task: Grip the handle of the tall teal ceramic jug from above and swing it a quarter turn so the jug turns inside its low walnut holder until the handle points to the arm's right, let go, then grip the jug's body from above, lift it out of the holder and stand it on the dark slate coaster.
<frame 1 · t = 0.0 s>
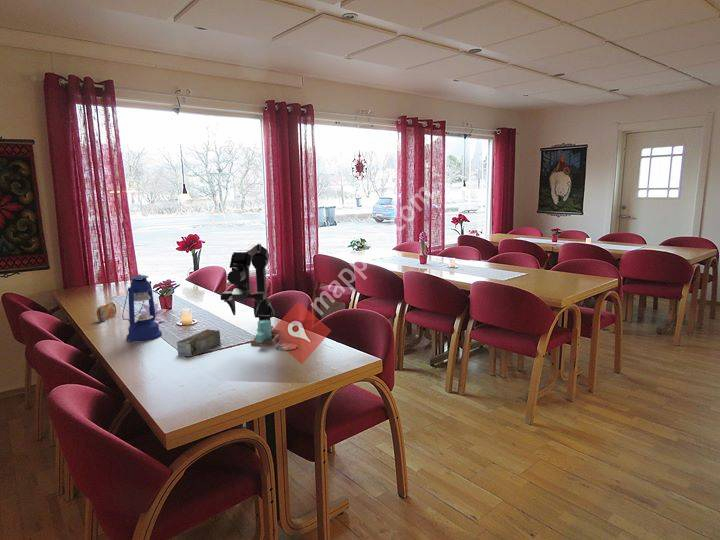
hand: (244, 315, 199), 15 cm above the table, tool pointing down, fingers open, 9 cm apart
holder: (265, 341, 209), on the table
jug: (262, 333, 206), in the holder
grey brown rectangular block: (200, 349, 201), on the table
lantern: (144, 337, 219), on the table
tin: (107, 319, 251), on the table
water lily: (154, 323, 242), on the table
coaster: (287, 347, 201), on the table
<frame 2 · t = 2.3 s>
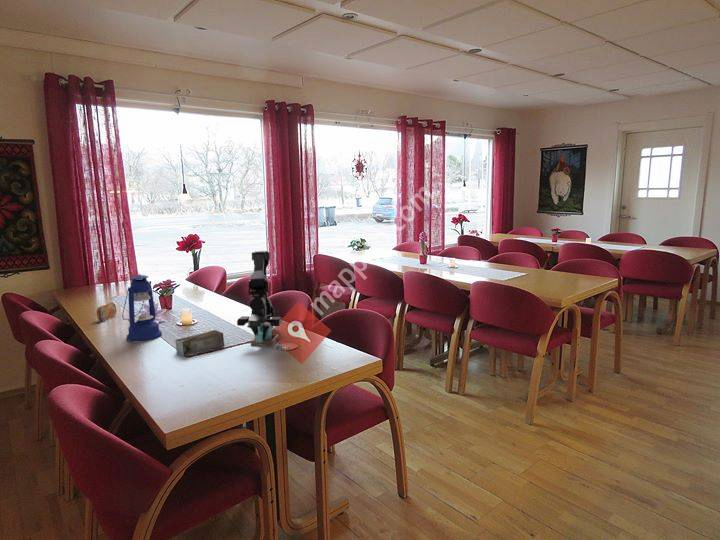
hand: (260, 340, 203), 3 cm above the table, tool pointing down, fingers closed on jug, 3 cm apart
jug: (262, 333, 206), in the holder, touching gripper
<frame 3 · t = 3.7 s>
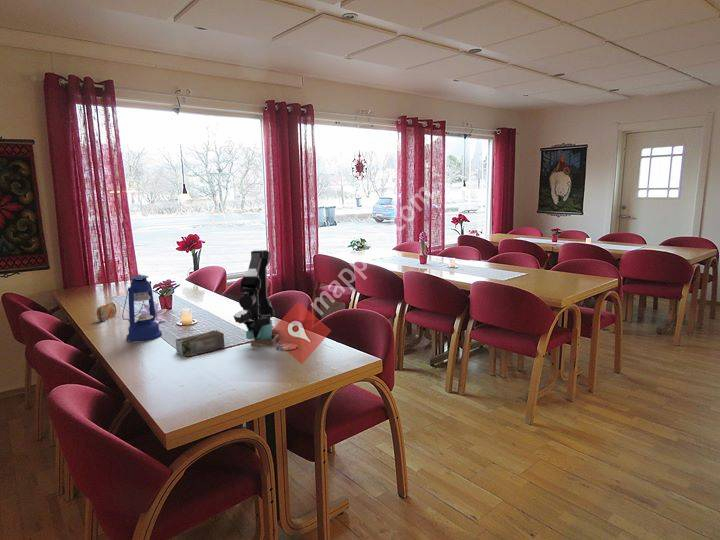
hand: (253, 337, 204), 4 cm above the table, tool pointing down, fingers closed on jug, 3 cm apart
jug: (259, 332, 207), resting in holder, touching gripper
when the fingers open (4 cm above the table, at t = 5.3 s): jug stays where it is, resting in holder.
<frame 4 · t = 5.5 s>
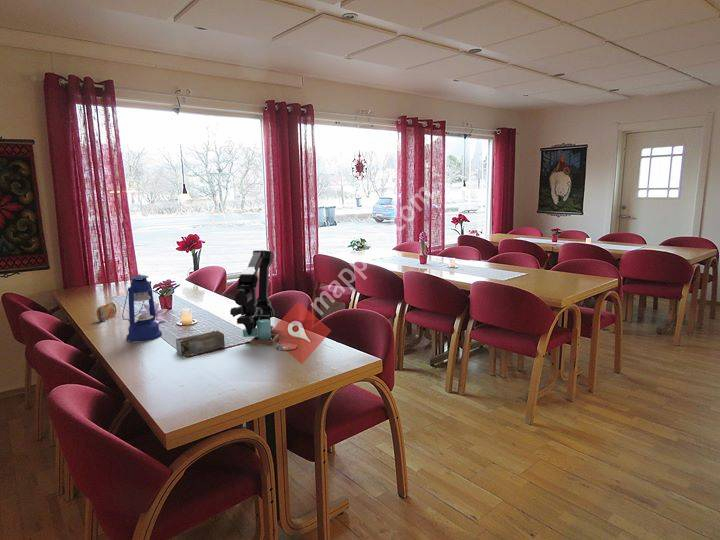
hand: (251, 333, 209), 4 cm above the table, tool pointing down, fingers open, 4 cm apart
jug: (257, 331, 209), in the holder
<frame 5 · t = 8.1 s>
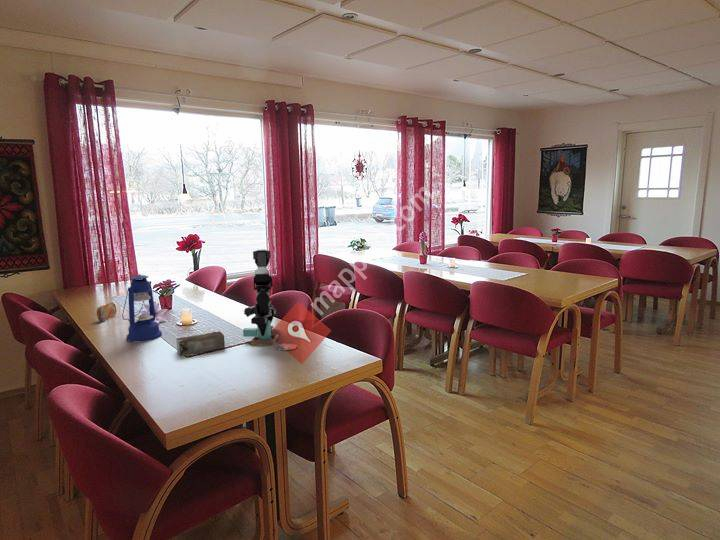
hand: (264, 333, 209), 4 cm above the table, tool pointing down, fingers closed on jug, 6 cm apart
jug: (257, 331, 209), in the holder, touching gripper
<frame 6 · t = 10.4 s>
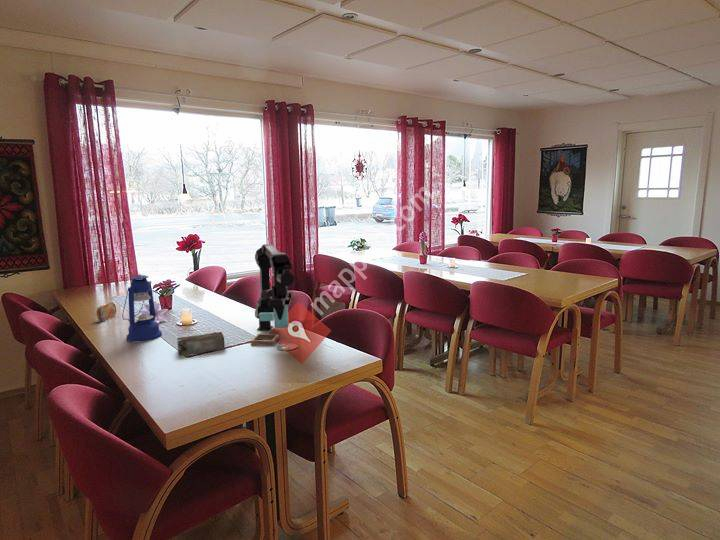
hand: (282, 317, 200), 13 cm above the table, tool pointing down, fingers closed on jug, 6 cm apart
jug: (274, 315, 200), point 14 cm above the table, touching gripper
when the fingers open (5 cm above the table, at t = 12.5 s): jug stays where it is, resting on coaster.
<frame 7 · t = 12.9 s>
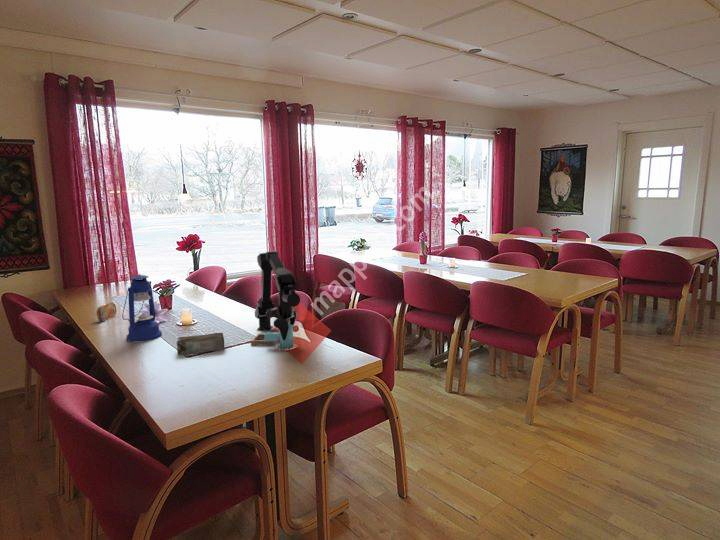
hand: (286, 336, 201), 5 cm above the table, tool pointing down, fingers open, 9 cm apart
jug: (279, 335, 201), on the coaster
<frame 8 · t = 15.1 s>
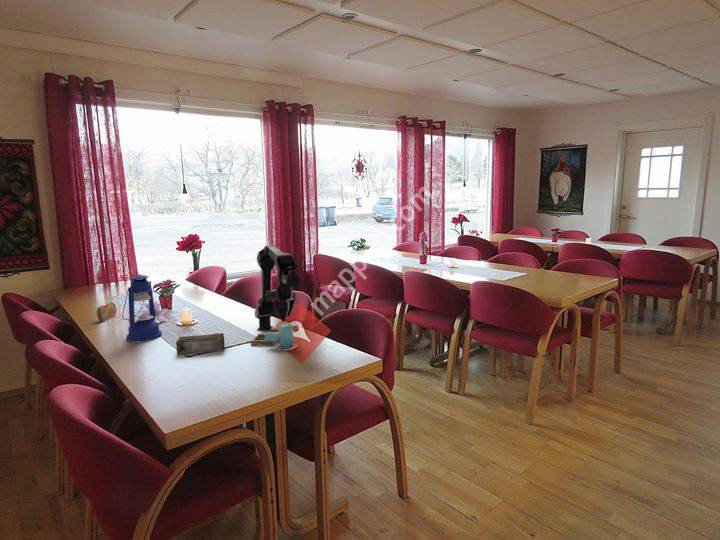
hand: (286, 318, 199), 13 cm above the table, tool pointing down, fingers open, 9 cm apart
at the end: jug inside the target area on the coaster (0.3 cm from its centre), point 5.1 cm above the coaster's base; jug tilted 0°; the gripper is holding nothing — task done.
